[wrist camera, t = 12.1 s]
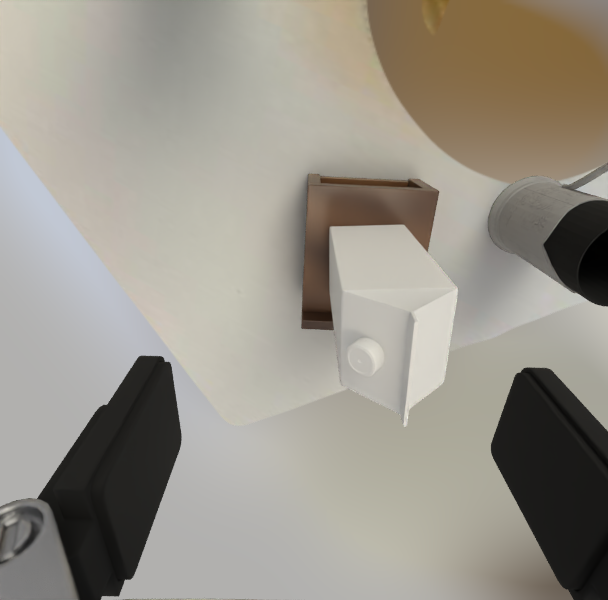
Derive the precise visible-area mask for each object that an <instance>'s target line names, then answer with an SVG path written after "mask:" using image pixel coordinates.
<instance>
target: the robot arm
mask: <svg viewBox="0 0 608 600" xmlns="http://www.w3.org/2000/svg"><path fill="white" fill-rule="evenodd" d="M180 446H181V429H180V422H179V415H178V408H177V401H176V394H175V389H174V381H173V374H172V367H171V364H170V362H165V361H164V358H163V357H161V356H139V357H138V359H137V360H136V362H135V363H134V365H133V367H132V368H131V369H130V371H129V372H128V374H127V375H126V377H125V379H124V380H123V382H122V383H121V385H120V386H119V388H118V389H117V391H116V392H115V394H114V395H113V397H112V398H111V400H110V401H109V403H108V404H107V405H103V406H101V407H99V409H98V410H97V411H96V412H95V414H94V415H93V417H92V418H91V420H90V421H89V423H88V424H87V426H86V427H85V429H84V430H83V431H82V433H81V434H80V436H79V437H78V439H77V440H76V442H75V443H74V445H73V446H72V448H71V449H70V451H69V452H68V454H67V455H66V457H65V458H64V460H63V461H62V463H61V464H60V465H59V467H58V468H57V470H56V471H55V473H54V474H53V476H52V477H51V479H50V480H49V482H48V483H47V485H46V486H45V488H44V489H43V491H42V492H41V494H40V495H39V497H38V498H37V499H32V498H28V499H21V500H16V501H13V502H11V503H8V504H5V505H3V506H1V507H0V600H101V597H102V596H119V594H120V592H121V589H122V586H123V584H124V581H125V579H126V580H127V579H128V580H130V579H132V577H133V576H134V574H135V571H136V569H137V566H138V563H139V560H140V557H141V555H142V552H143V550H144V547H145V544H146V541H147V538H148V536H149V533H150V530H151V527H152V524H153V522H154V519H155V516H156V513H157V511H158V508H159V505H160V502H161V500H162V497H163V494H164V491H165V489H166V486H167V483H168V480H169V477H170V475H171V472H172V469H173V466H174V463H175V461H176V458H177V455H178V452H179V450H180ZM491 453H492V456H493V459H494V461H495V462H496V464H497V466H498V468H499V470H500V472H501V474H502V475H503V478H504V479H505V481H506V483H507V485H508V487H509V489H510V490H511V493H512V495H513V496H514V498H515V500H516V502H517V504H518V506H519V508H520V510H521V512H522V513H523V515H524V517H525V519H526V521H527V523H528V525H529V527H530V529H531V530H532V532H533V534H534V536H535V538H536V540H537V542H538V544H539V546H540V547H541V549H542V551H543V553H544V555H545V557H546V559H547V561H548V563H549V564H550V566H551V568H552V570H553V572H554V574H555V576H556V578H557V580H558V581H559V583H560V584H561V585H562V587H563V588H565V589H568V590H569V592H570V594H571V595H572V597H573V599H574V600H608V431H607V430H606V429H605V428H604V427H603V426H602V425H601V424H600V422H599V421H598V420H596V418H595V417H594V416H593V415H592V414H591V413H590V412H589V411H588V409H587V408H586V407H585V406H584V405H583V404H582V403H581V402H580V401H579V400H578V399H577V397H576V396H575V395H574V394H573V393H572V392H571V391H570V390H569V389H568V388H567V387H566V385H565V384H564V383H563V382H562V381H561V380H560V379H559V378H558V377H557V376H556V375H555V374H554V372H553V371H551V370H550V369H547V368H524V369H523V370H522V371H521V373H517V374H516V375H515V377H514V380H513V384H512V386H511V389H510V392H509V395H508V397H507V400H506V403H505V406H504V409H503V412H502V415H501V417H500V421H499V423H498V426H497V429H496V432H495V434H494V437H493V440H492V443H491ZM126 600H250V599H126ZM251 600H254V599H251Z"/></svg>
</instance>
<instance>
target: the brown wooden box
mask: <svg viewBox="0 0 608 600" xmlns="http://www.w3.org/2000/svg"><path fill="white" fill-rule="evenodd" d="M438 195H439V191H438V190H436V189H435V188H433V187H431V186H430V185H428V184H426V183H425V182H423V181H421V180H420V179H409V180H408V181H407V180H386V179H366V178H346V177H325V176H321V177H320V176H319V174H308V190H307V211H306V231H305V252H304V272H303V293H302V326H301V328H302V329H321V330H334V326H333V318H332V309H331V301H330V291H329V229H330V227H331V226H367V225H405V226H406V228H407V229H408V230H409V231H410V232H411V234H412V235H413V236H414V237H415V238H416V239H417V241H418V242H419V243H420V244H421V245H422V246H423V248H424V249H425V250H426V251H427V252H428V247H429V241H430V236H431V231H432V226H433V221H434V216H435V210H436V205H437V200H438Z"/></svg>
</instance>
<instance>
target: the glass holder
mask: <svg viewBox="0 0 608 600" xmlns="http://www.w3.org/2000/svg"><path fill="white" fill-rule="evenodd" d="M607 171H608V163H606V164H604V165H603V166H601V167H599V168H598V169H596V170H594V171H593V172H591V173H589V174H588V175H586V176H584V177H583V178H581V179H579V180H578V181H576V182H574V183H572V184H570V185H566V184H564V185H563V186H562V185H561V184H560V183H559V182H557V181H556V180H554V179H552V178H549V177H545V176H531V177H527V178H524V179H521V180H519V181H517V182H515V183H513V184H512V185H510V186H509V187H508V188H506V189H505V190H504V191H503V192H502V193H501V194H500V195H499V196H498V198H497V199H496V201H495V202H494V204H493V206H492V208H491V211H490V214H489V219H488V229H489V233H490V236H491V238H492V240H493V242H494V243H495V244H496V245H497V246H498V247H499V248H501V249H502V250H504V251H506V252H509V253H513V254H517V255H518V256H520V257H521V258H523V259H524V260H526V261H527V262H529V263H530V264H532V265H533V266H534V267H536V268H537V269H539V270H540V271H542V272H543V273H545V274H546V275H548V276H549V277H551V278H552V279H554V280H555V281H557V282H558V283H559V284H561V285H562V286H564V287H565V288H567V289H568V290H570V291H571V292H573V293H578V294H580V295H581V296H583V297H584V298H586V299H587V300H589V301H591V302H592V303H594V304H597V305H601V306H608V199H604V198H601V197H597V196H594V195H590V194H587V193H583V192H580V191H577V190H575V189H577V188H579V187H581V186H583V185H585V184H586V183H588V182H590V181H592V180H593V179H595V178H597V177H598V176H600V175H602V174H603V173H605V172H607Z"/></svg>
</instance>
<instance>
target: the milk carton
mask: <svg viewBox="0 0 608 600" xmlns="http://www.w3.org/2000/svg"><path fill="white" fill-rule="evenodd" d="M329 291H330V301H331V309H332V318H333V326H334V335H335V343H336V352H337V360H338V369H339V377H340V382H341V385H342V386H344V387H346V388H348V389H350V390H352V391H354V392H356V393H358V394H360V395H362V396H364V397H366V398H368V399H370V400H372V401H374V402H376V403H378V404H380V405H382V406H384V407H386V408H388V409H390V410H392V411H394V412H396V413H398V414H400V415H401V419H402V422H403V426H407V421H408V412H409V409H410V408H411V407H413V406H414V405H415V404H417V403H418V402H419V401H421V400H422V399H423V398H425V397H426V396H427V395H429V394H430V393H431V392H432V391H434V390H435V389H436V388H438V387H439V386H440V385H442V384H443V383H444V379H445V373H446V367H447V360H448V354H449V347H450V341H451V335H452V328H453V322H454V316H455V309H456V303H457V296H458V288H457V287H456V285H455V284H454V283H453V282H452V281H451V279H450V278H449V277H448V276H447V275H446V274H445V272H444V271H443V270H442V269H441V268H440V266H439V265H438V264H437V263H436V262H435V261H434V259H433V258H432V257H431V256H430V255H429V254H428V252H427V251H426V250H425V249H424V248H423V246H422V245H421V244H420V243H419V242H418V241H417V239H416V238H415V237H414V236H413V235H412V234H411V232H410V231H409V230H408V229H407V228H406V226H405V225H367V226H331V227H330V229H329Z"/></svg>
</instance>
